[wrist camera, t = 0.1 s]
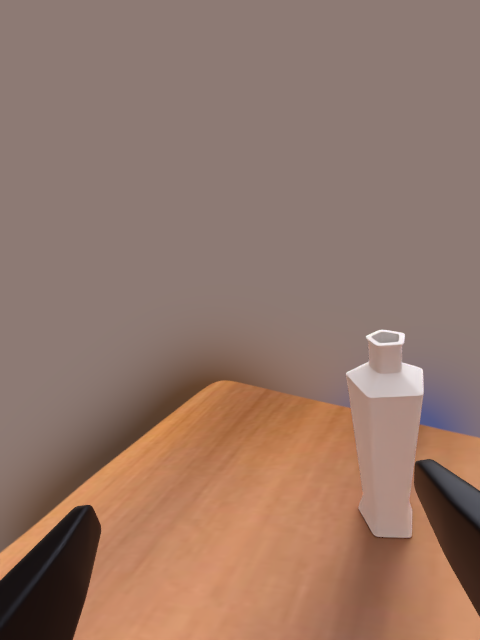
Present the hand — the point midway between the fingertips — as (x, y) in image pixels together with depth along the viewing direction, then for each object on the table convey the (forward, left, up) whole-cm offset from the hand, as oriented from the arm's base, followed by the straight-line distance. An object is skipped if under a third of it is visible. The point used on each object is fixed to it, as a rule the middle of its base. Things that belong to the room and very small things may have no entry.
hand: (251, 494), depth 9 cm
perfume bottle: (+11, -8, -17) cm, 22 cm away
